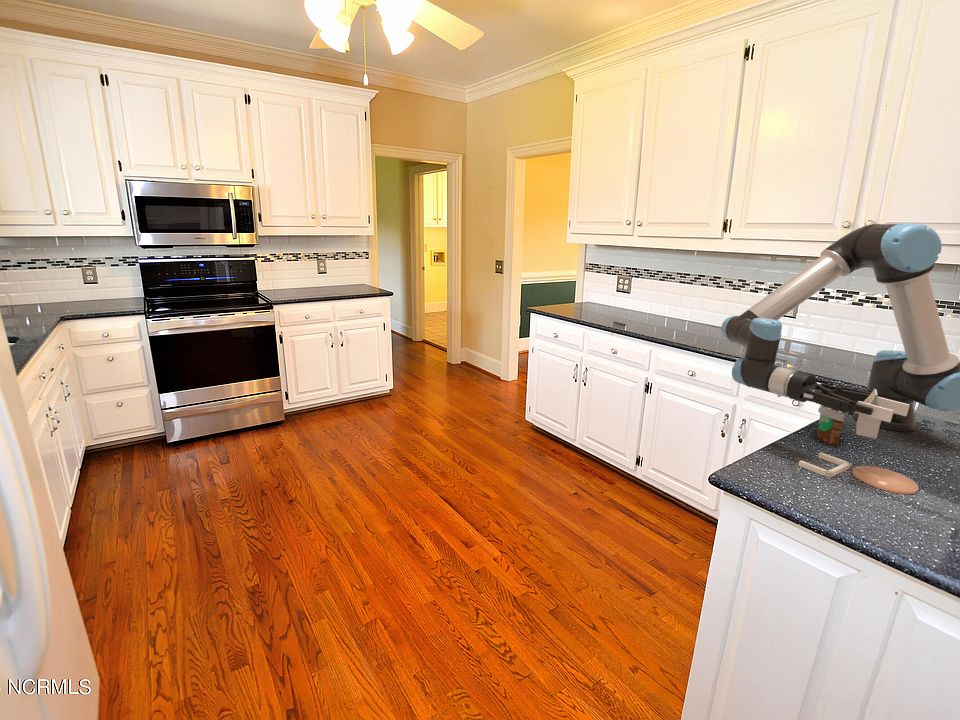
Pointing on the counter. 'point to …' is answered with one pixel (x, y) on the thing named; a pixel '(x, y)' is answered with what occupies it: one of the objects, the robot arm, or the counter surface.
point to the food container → (830, 425)
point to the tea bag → (869, 419)
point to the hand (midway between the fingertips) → (899, 413)
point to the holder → (828, 473)
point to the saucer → (885, 480)
